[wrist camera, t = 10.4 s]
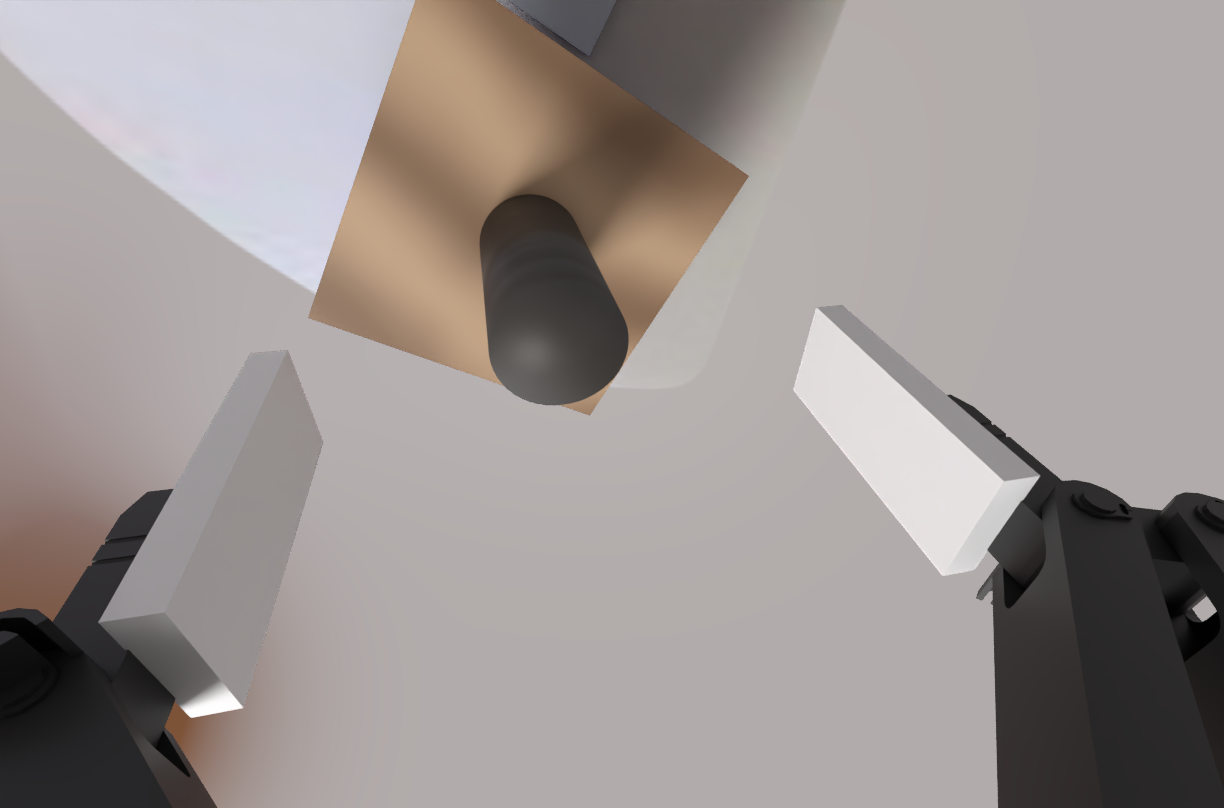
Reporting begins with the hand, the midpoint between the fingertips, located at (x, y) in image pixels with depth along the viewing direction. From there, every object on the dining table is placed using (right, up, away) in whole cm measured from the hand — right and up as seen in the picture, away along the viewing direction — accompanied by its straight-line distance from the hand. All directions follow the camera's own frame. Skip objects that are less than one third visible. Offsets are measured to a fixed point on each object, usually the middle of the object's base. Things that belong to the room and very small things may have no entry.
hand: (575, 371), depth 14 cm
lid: (-3, +6, +9) cm, 11 cm away
